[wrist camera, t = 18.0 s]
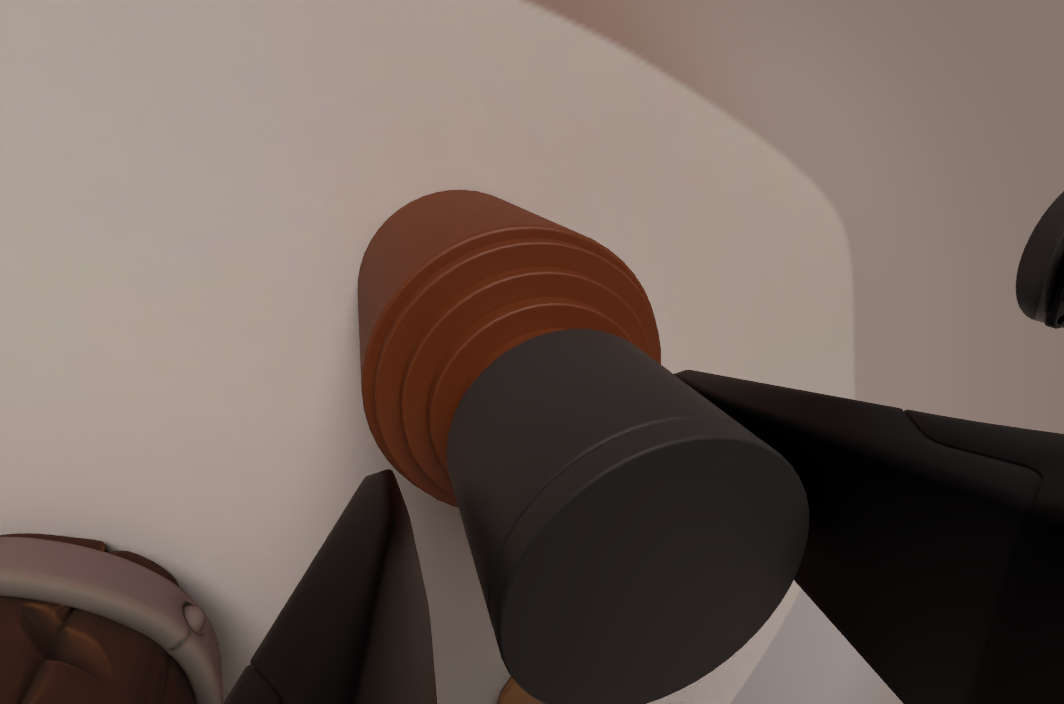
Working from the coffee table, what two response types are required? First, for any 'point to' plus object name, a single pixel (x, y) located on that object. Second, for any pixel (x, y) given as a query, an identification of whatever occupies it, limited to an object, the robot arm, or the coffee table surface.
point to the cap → (617, 520)
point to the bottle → (472, 313)
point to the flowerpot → (99, 628)
